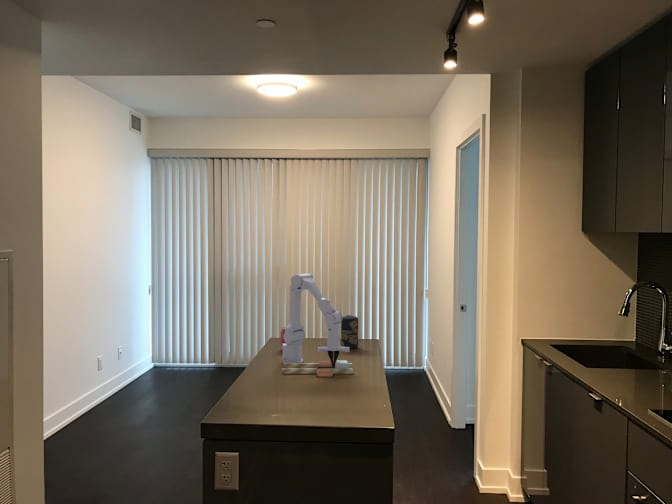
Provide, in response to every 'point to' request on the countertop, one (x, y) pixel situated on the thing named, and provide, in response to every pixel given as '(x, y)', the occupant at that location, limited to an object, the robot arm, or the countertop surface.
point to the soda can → (282, 337)
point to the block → (341, 364)
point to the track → (312, 368)
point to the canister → (349, 331)
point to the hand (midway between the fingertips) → (333, 367)
